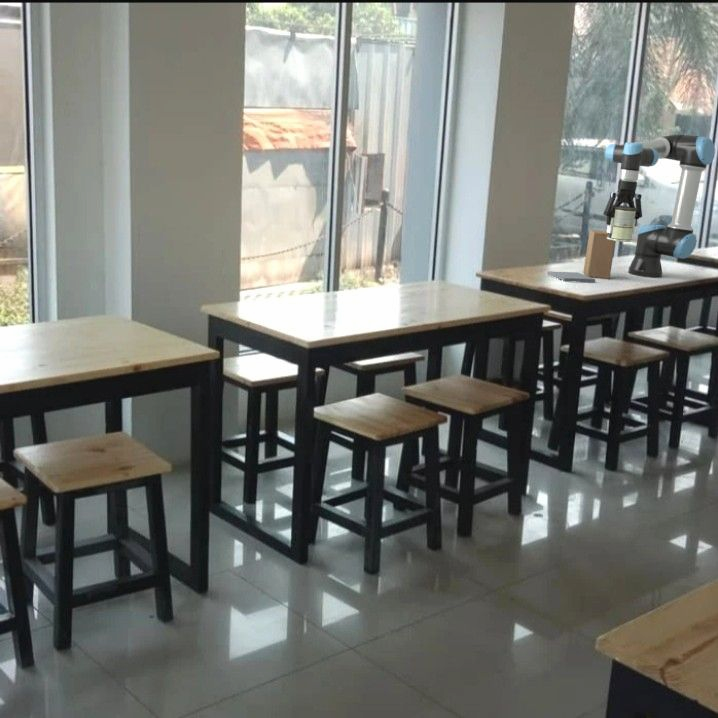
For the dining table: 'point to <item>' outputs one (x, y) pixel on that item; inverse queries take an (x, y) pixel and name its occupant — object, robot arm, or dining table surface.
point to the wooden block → (599, 255)
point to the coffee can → (622, 224)
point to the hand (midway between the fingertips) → (620, 233)
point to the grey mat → (571, 276)
